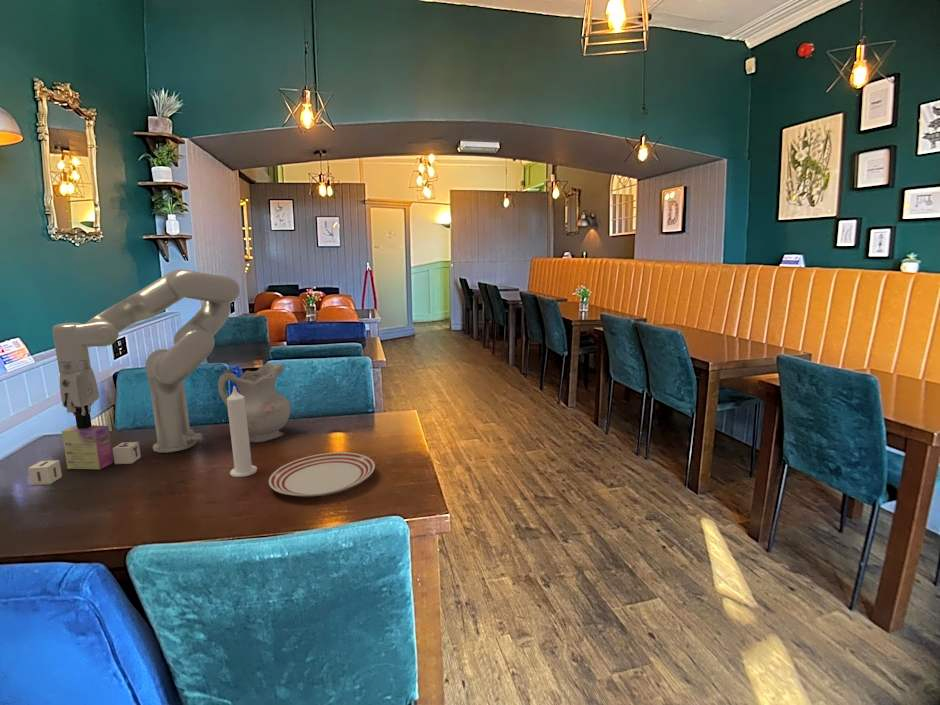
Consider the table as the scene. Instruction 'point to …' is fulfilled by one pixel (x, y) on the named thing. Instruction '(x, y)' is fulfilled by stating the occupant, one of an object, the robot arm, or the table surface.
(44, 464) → the block one
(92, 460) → the box
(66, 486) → the table surface
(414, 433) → the table surface
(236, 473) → the candle
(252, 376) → the ceramic pitcher
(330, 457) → the dinner plate
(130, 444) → the block seven
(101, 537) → the table surface
